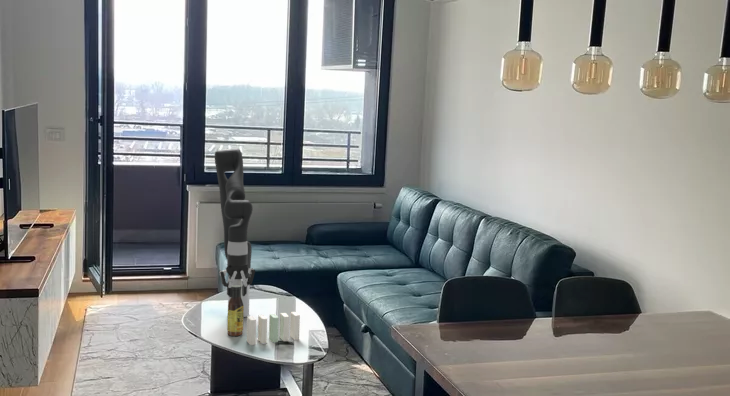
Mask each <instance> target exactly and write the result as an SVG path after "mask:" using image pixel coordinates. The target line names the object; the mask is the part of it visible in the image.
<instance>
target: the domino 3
mask: <svg viewBox="0 0 730 396" xmlns="http://www.w3.org/2000/svg"><path fill="white" fill-rule="evenodd" d="M268 322H269V327H268V328H269V330H268V331H269V332H268V339H269V340H270V341H271V342H272V343H278V342H279V322H280V316H278V315H276V314H275V313H270V314H269V321H268Z"/></svg>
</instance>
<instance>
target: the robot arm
mask: <svg viewBox="0 0 730 396" xmlns="http://www.w3.org/2000/svg"><path fill="white" fill-rule="evenodd" d="M243 158H244V157H243V154H242V151H241V150H240V149H239V148H227V149H225V148H224V149H218V150H216V151H215V152H214V164H215V169H216V175H217V182H218V186H219V187H218V188H219V199H220V209H221V216H222V217H221V218H222V226H223V240H224V243H223V244H224V256H225V259H226V260H227V261H226V262H227V264H226V265H227V266H226V268H225V269H224V270H219V271H218V274H219V277H220V281H221V284H222V286H224V287H225V288H226V295H227V303H228V302H229V300H230V299H231V297H232V288H231V286H232V285H240V286H241V299H242V302H243V305H244V311H243V318H247V316H250V288H251V287H250V286H251V285H252V284H253V280H254V277H255V274H256V269H254V268H252V267H251V265H252V253H253V252H252V243H251V242H250V241H248V228H249V222H250V221H251V217H252V214H253V211H254V210H253V208H254V207H253V205H252V202H251V201H250V200H248V199H246V193H245V192H246V191H245V185H244V159H243ZM227 172H229V173H230V172H233V173H232V174H231V175H230V176H229V178H227V175H226V173H227ZM227 275H228V277H227V278H228V279H227V280H226V276H227Z"/></svg>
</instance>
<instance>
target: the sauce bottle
mask: <svg viewBox="0 0 730 396" xmlns="http://www.w3.org/2000/svg"><path fill="white" fill-rule="evenodd" d="M231 288H232V297H231V299H230V300H229V302H228V301H227V324H226V325H227V328H226V329H227V335H228V336H231V337H238V336H241V335H243V332H244V331H243V330H244V317H243V311H244V305H243V302H242V299H241V286H240V285H232V286H231Z"/></svg>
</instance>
